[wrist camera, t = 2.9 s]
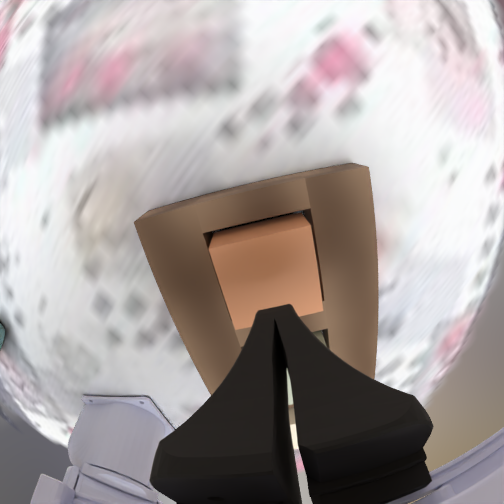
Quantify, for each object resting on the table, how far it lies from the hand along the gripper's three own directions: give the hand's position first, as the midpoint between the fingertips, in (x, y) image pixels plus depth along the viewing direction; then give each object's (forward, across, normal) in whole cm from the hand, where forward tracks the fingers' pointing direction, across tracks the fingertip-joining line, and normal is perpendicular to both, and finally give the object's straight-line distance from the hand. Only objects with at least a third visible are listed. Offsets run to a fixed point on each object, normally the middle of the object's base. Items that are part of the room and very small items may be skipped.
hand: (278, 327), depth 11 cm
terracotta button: (+6, 0, 0) cm, 6 cm away
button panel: (+8, 0, +8) cm, 11 cm away
